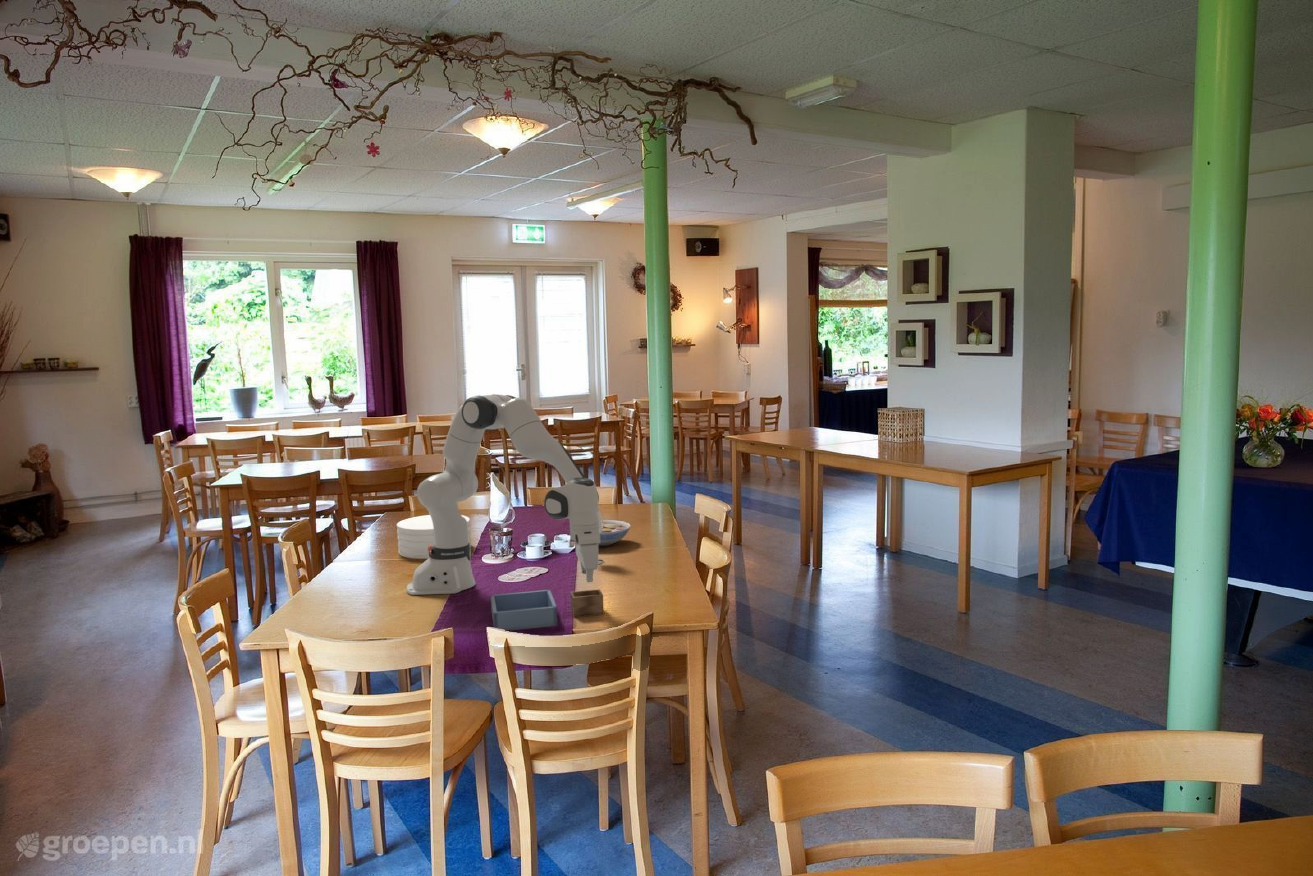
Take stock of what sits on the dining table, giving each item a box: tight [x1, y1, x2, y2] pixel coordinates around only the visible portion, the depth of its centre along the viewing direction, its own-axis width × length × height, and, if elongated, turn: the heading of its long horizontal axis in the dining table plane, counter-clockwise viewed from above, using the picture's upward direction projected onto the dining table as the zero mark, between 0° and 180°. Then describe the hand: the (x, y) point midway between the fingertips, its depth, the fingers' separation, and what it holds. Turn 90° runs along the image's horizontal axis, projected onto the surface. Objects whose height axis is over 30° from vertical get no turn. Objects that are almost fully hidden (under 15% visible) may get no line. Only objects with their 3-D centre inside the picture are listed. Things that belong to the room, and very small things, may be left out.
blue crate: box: [490, 589, 559, 631], centre depth 258 cm, size 18×18×6 cm
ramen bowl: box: [598, 519, 632, 547], centre depth 346 cm, size 25×23×8 cm
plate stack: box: [396, 514, 472, 560], centre depth 345 cm, size 28×28×12 cm
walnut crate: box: [569, 588, 605, 618], centre depth 262 cm, size 9×6×6 cm, turn 103°
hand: (587, 577), depth 261 cm, fingers open, 8 cm apart
